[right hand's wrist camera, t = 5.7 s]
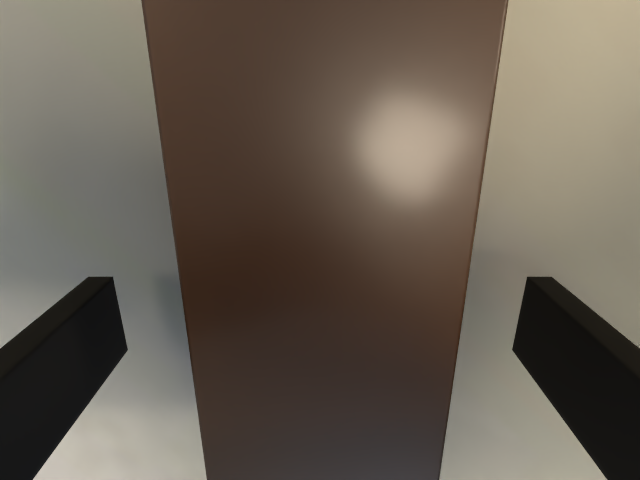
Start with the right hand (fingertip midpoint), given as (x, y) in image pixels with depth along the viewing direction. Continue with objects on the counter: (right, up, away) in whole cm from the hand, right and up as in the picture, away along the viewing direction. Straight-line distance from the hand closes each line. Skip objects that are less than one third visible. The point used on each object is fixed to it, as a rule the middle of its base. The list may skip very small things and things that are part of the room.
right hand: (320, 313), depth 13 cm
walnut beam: (0, +12, -2) cm, 12 cm away
